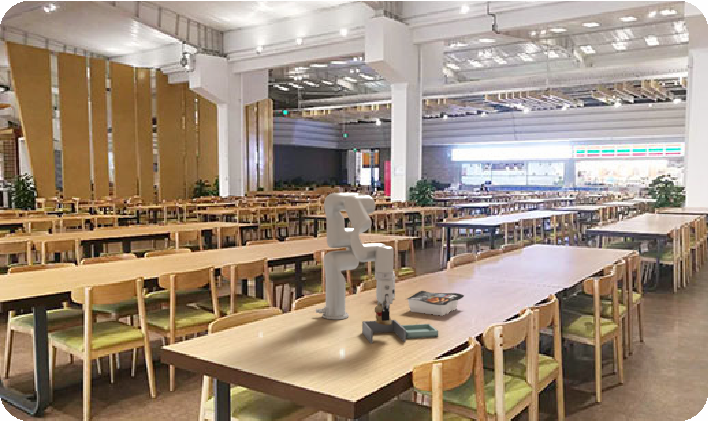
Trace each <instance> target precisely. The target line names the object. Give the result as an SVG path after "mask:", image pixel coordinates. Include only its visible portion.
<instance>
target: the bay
mask: <svg viewBox="0 0 708 421" xmlns="http://www.w3.org/2000/svg"><path fill="white" fill-rule="evenodd" d="M361 322H362V324H361V326H362V334H363V336H364V337H365V338H366V339H367V341H368V342H369V343H370V344H371V345H372V344H373V341H374V339H373V335H374V333H394V334H395V335H396V336H397V337H398V338H399V339H400V340H401V341H402V342H405V343H406V341H407V340H406V339H407V338H406V329H405V328H404V327H402V326H401V323H399V322H398V321H397V320H396V319H391V322H392V325H382V324H378V323H377V322H376V320H366V321H365V320H364V321H363V320H362V321H361Z"/></svg>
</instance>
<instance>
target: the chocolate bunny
mask: <svg viewBox="0 0 708 421" xmlns="http://www.w3.org/2000/svg"><path fill="white" fill-rule="evenodd" d="M383 303H386V302H383ZM385 306H386V305H384V307H385ZM382 311H383V310H382V304H381V303H379V305H375V306H374V313H375V319H376V320H375V321H376V322H377V323H378V324H382V325H392V322H391V320H392V318H391V316H390V315H389V320H387V321H382Z"/></svg>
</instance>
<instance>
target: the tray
mask: <svg viewBox="0 0 708 421" xmlns="http://www.w3.org/2000/svg"><path fill="white" fill-rule="evenodd" d="M400 325H401V324H400ZM401 326H402V327H404V328H405V329H406V339H420V338H421V339H422V337H424V338H436V337H435V336H438V337H439V329H436V328H435V327H434V326H433V325H431V324H430V323H421V324H420V323H419V324H418V323H417V324H402V325H401Z"/></svg>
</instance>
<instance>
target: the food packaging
mask: <svg viewBox="0 0 708 421" xmlns="http://www.w3.org/2000/svg"><path fill="white" fill-rule="evenodd" d="M464 297H465V294H460V293H455V292H453V293H452V292H447V293H445V292H429V291H427V290H426V291H425V290H420V291H418V292H416V293H414V294H413V295H411V296H409V297H407V298H406V300H407V302H408V308H409V311H410V312H412V313H417V314H424V313H425V315H426V314H427V315H431V314H433V316H438V315H440V317H444V316H445V315H446V314H447V315H449V312H450V311H451V312H454V311H455V310H457V307H458V302H459V300H461V299H463V298H464ZM453 310H454V311H453ZM451 312H450V313H451ZM443 315H444V316H443Z"/></svg>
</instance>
